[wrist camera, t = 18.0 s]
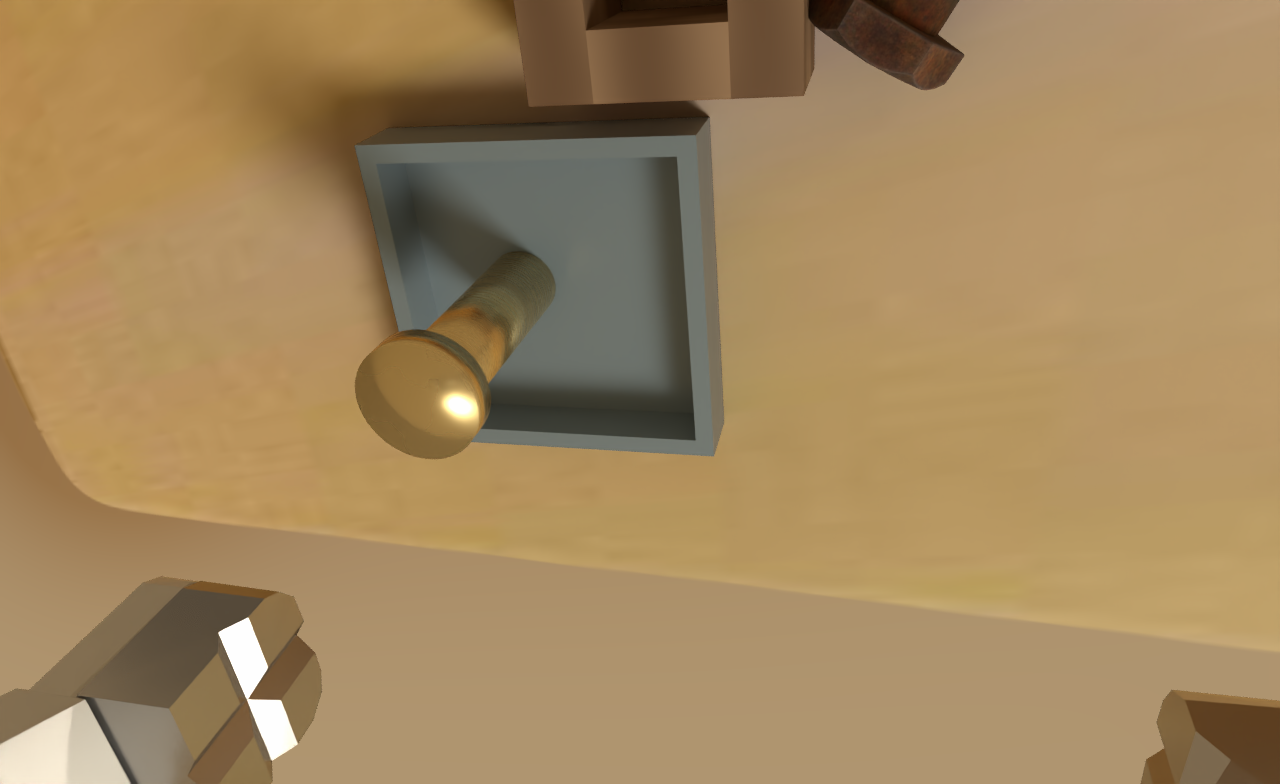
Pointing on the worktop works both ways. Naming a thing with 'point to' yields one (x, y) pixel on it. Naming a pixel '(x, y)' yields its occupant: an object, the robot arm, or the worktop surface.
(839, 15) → the bolt
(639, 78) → the holder
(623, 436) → the tray
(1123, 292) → the worktop surface
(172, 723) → the robot arm
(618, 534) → the worktop surface
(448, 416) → the pin
